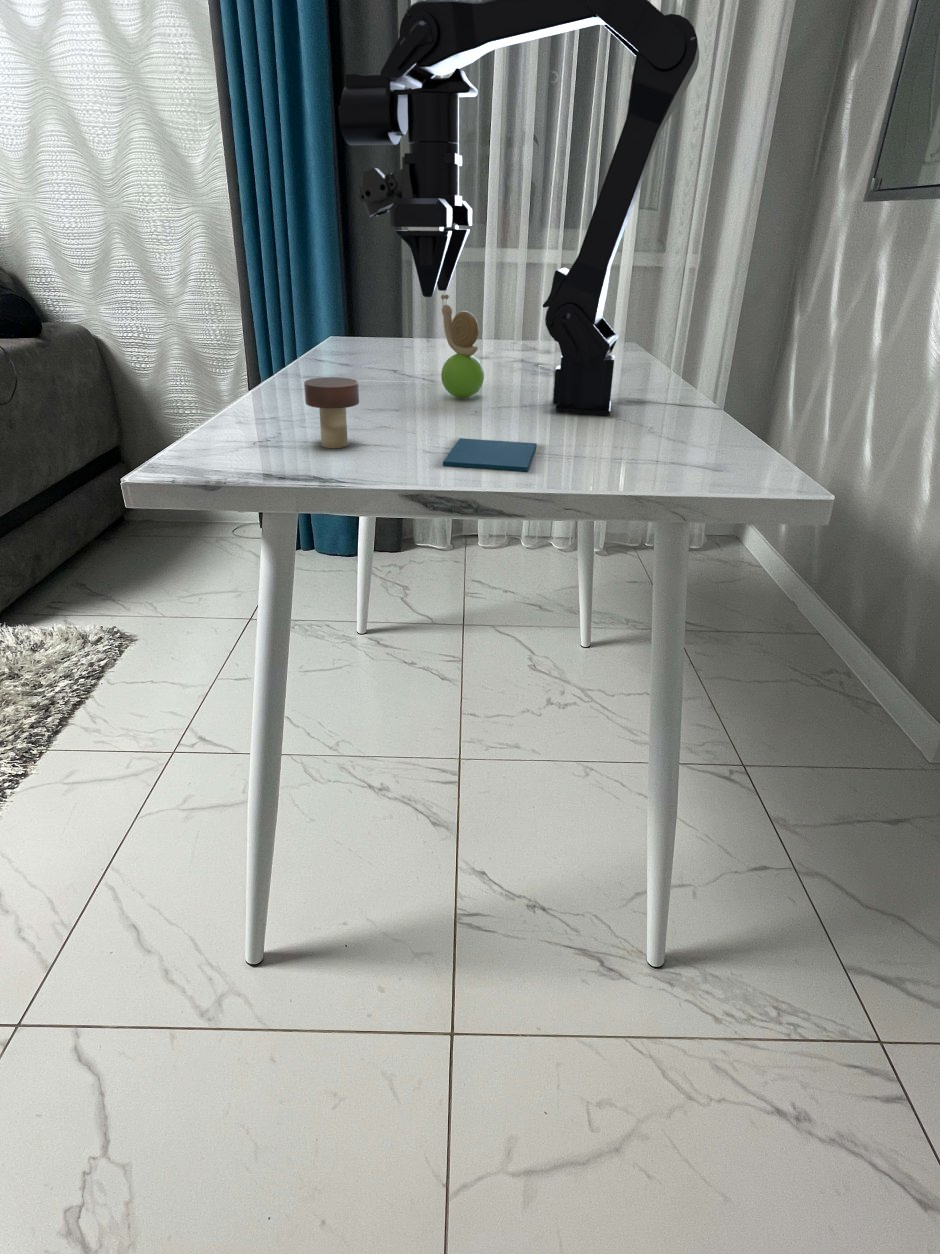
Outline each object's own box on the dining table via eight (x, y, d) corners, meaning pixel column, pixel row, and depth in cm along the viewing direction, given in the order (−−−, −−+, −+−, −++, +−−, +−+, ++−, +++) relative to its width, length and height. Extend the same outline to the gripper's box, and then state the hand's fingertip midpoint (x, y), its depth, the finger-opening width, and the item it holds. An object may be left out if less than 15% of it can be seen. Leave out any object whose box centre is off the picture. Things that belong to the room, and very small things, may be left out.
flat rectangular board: (536, 447, 83) (536, 443, 83) (527, 471, 75) (527, 467, 75) (459, 441, 84) (459, 438, 84) (442, 465, 76) (442, 461, 76)
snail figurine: (457, 390, 108) (459, 293, 102) (492, 398, 104) (495, 297, 98) (427, 395, 105) (427, 295, 99) (461, 403, 100) (463, 300, 95)
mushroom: (366, 440, 84) (364, 378, 81) (352, 453, 79) (349, 388, 76) (318, 437, 84) (314, 375, 81) (301, 450, 80) (296, 385, 77)
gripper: (384, 150, 100) (389, 286, 108) (340, 137, 84) (349, 299, 91) (473, 150, 99) (472, 288, 106) (445, 136, 83) (446, 301, 90)
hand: (435, 293), depth 98 cm, fingers open, 9 cm apart
